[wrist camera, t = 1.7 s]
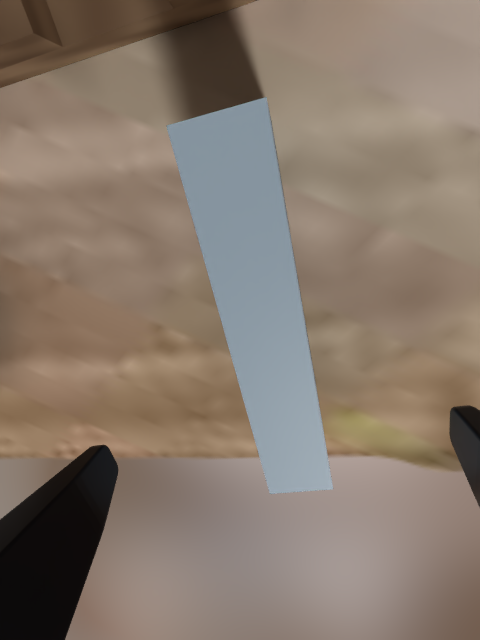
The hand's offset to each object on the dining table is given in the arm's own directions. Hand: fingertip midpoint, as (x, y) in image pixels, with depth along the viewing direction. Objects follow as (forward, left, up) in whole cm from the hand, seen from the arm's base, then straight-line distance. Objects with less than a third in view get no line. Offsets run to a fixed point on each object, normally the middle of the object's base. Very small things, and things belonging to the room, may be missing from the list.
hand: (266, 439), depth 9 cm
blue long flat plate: (0, 0, -13) cm, 13 cm away
